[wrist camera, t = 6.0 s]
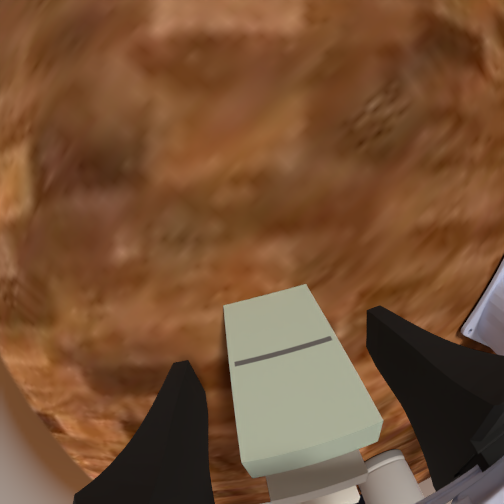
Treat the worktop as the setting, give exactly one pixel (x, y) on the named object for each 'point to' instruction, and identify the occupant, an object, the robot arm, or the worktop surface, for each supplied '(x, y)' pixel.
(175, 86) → the worktop surface
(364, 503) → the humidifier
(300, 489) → the domino
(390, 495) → the travel mug
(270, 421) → the domino
